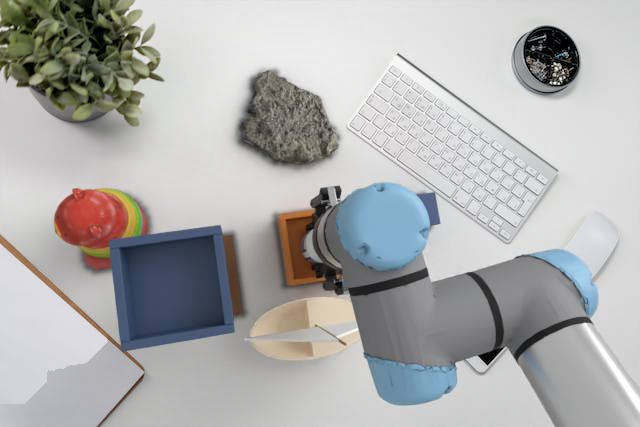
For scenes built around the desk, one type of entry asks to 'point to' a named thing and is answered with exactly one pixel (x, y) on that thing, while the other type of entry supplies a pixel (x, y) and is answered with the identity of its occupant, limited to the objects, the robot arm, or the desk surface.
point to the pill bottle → (309, 249)
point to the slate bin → (174, 286)
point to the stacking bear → (98, 222)
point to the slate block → (430, 207)
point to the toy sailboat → (305, 329)
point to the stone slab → (288, 122)
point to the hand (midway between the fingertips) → (317, 246)
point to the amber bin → (296, 247)
